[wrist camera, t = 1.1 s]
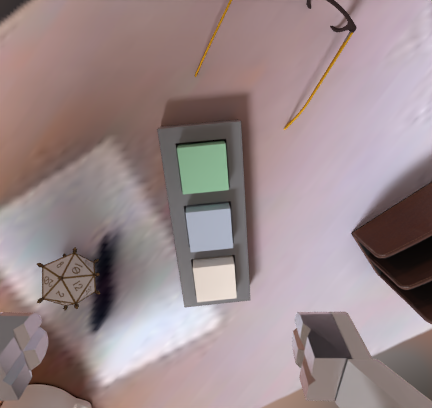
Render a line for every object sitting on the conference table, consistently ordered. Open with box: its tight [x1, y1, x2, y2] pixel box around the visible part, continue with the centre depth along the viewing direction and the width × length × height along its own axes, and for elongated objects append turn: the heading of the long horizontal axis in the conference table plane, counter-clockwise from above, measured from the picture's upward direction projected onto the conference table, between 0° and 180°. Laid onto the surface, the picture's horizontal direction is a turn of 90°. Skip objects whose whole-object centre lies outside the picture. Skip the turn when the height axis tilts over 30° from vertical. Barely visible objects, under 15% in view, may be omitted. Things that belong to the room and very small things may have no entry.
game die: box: [37, 247, 100, 310], centre depth 42 cm, size 9×8×10 cm
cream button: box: [193, 255, 237, 302], centre depth 44 cm, size 6×6×3 cm
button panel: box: [157, 120, 250, 307], centre depth 43 cm, size 28×11×3 cm, turn 5°
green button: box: [177, 140, 229, 194], centre depth 38 cm, size 6×6×3 cm
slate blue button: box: [185, 201, 233, 252], centre depth 41 cm, size 6×6×3 cm
